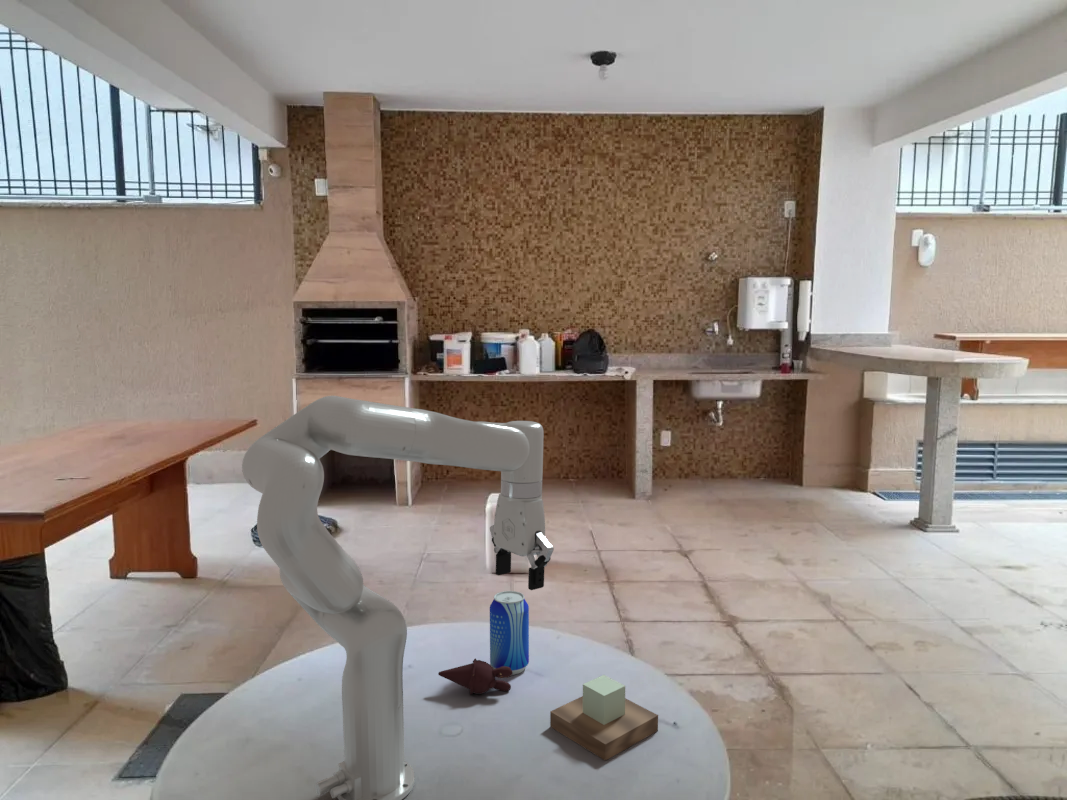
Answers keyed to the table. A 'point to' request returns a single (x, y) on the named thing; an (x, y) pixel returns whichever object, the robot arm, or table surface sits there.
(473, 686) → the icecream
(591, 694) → the sage cube
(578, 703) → the walnut base
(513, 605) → the beer can
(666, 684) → the table surface
